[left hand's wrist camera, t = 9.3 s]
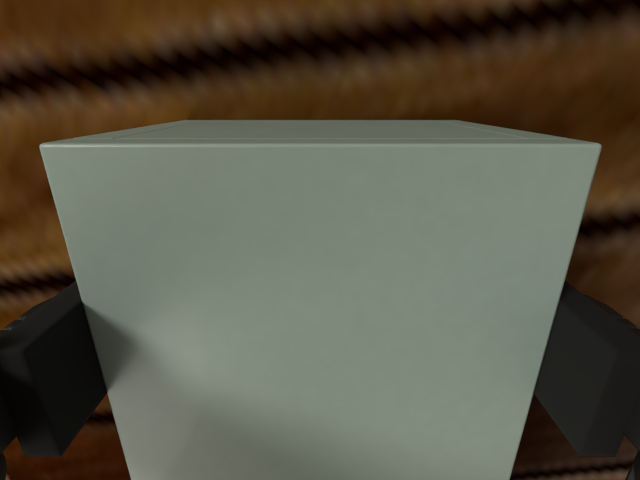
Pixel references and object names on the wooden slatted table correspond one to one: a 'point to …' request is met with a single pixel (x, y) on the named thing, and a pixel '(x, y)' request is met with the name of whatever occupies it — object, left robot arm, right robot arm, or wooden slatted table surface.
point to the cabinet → (320, 290)
